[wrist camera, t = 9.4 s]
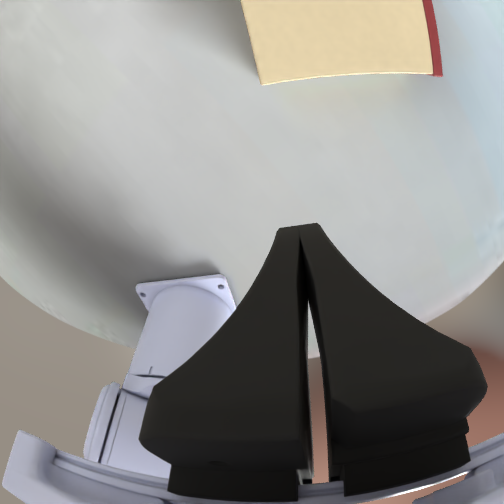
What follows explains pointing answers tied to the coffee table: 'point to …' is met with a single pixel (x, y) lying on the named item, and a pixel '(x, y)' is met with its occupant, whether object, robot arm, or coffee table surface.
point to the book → (341, 38)
